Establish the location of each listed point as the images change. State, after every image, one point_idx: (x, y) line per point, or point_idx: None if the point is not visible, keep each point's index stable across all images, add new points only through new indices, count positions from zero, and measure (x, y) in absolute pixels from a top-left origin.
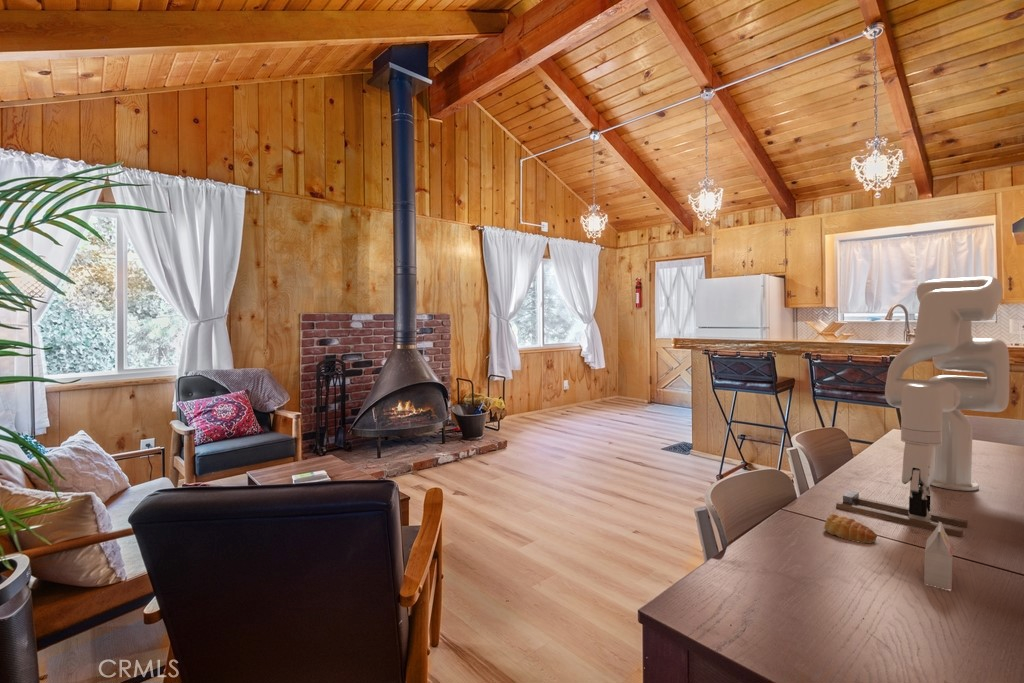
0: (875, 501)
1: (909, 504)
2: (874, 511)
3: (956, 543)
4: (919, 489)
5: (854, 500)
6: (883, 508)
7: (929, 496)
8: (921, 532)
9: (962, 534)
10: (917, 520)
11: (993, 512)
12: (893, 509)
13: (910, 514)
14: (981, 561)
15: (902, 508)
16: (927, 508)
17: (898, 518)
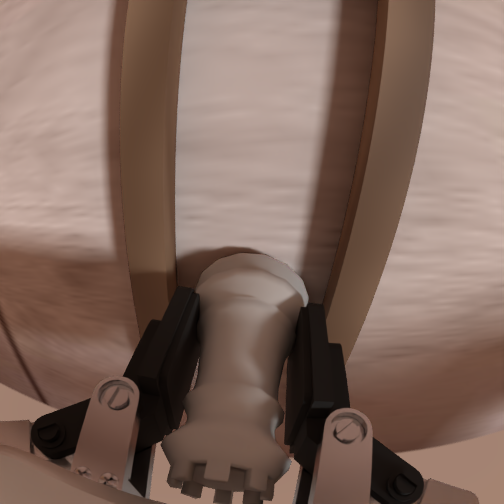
0: (418, 60)
1: (159, 328)
2: (125, 82)
3: (90, 367)
4: (170, 479)
5: None
6: (367, 109)
7: (290, 448)
8: (90, 296)
9: None
10: (151, 304)
11: (480, 420)
12: (356, 172)
13: (207, 282)
14: (37, 378)
15: (352, 233)
16: (288, 374)
17: (126, 220)
